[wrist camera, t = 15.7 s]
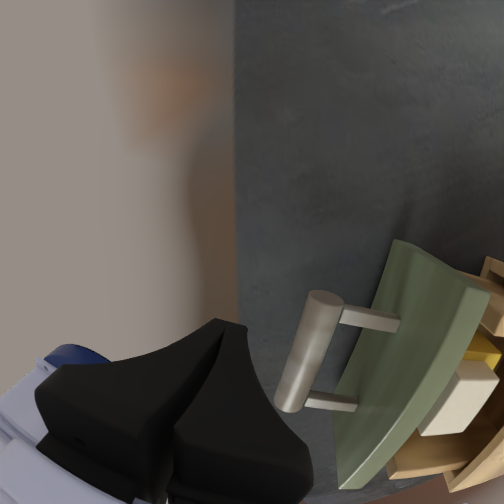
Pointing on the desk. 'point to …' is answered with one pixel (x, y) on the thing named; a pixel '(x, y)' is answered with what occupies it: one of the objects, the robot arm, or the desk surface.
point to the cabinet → (500, 448)
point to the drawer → (399, 367)
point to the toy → (464, 390)
